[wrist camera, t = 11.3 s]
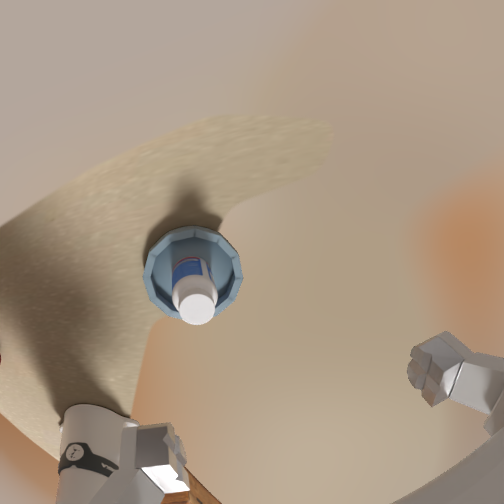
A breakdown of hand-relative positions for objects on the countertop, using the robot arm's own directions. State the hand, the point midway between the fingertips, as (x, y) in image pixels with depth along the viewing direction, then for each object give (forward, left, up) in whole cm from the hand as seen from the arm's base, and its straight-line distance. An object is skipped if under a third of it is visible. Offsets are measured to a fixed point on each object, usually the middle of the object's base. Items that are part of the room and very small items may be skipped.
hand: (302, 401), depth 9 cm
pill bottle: (-9, +4, -33) cm, 35 cm away
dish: (-9, +4, -34) cm, 35 cm away
